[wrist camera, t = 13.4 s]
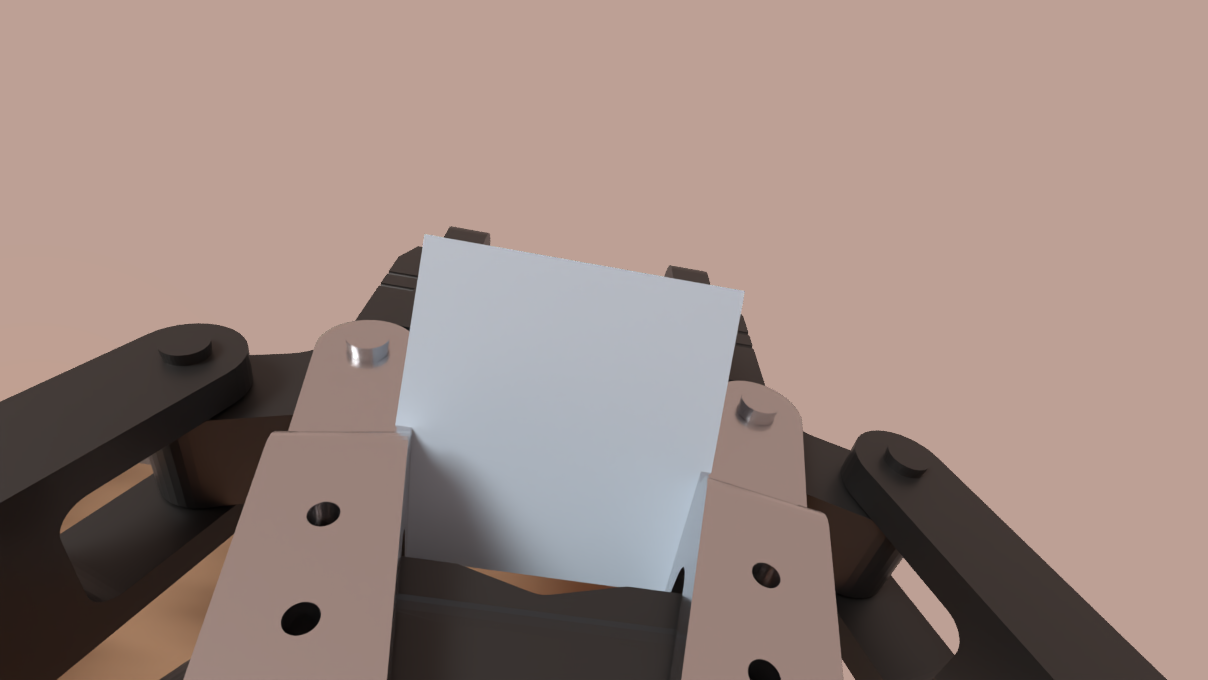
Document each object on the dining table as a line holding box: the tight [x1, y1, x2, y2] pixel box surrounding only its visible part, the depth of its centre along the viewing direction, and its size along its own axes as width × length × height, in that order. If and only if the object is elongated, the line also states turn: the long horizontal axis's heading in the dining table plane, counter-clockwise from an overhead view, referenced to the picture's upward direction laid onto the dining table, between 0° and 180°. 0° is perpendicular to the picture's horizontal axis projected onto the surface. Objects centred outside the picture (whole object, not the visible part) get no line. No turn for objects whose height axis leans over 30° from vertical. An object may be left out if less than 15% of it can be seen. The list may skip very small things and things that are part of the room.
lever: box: [395, 234, 745, 591], centre depth 17 cm, size 4×20×4 cm, turn 4°
